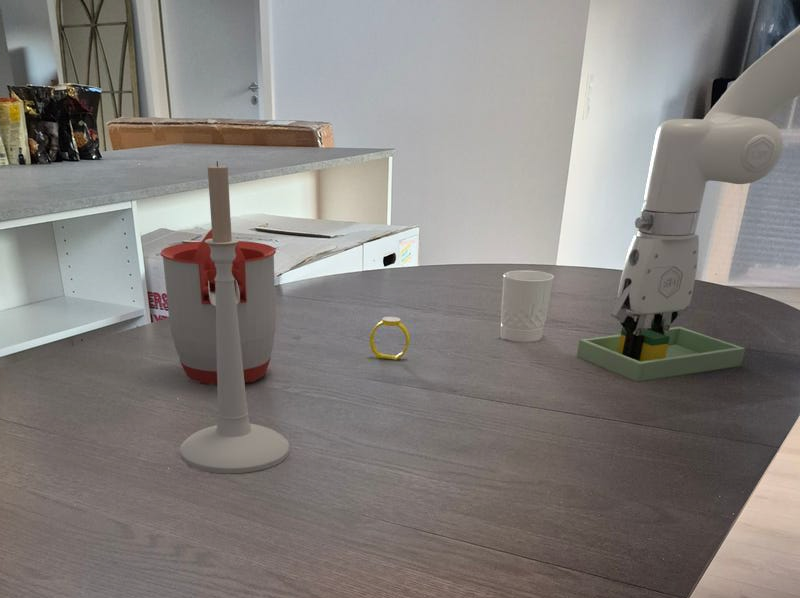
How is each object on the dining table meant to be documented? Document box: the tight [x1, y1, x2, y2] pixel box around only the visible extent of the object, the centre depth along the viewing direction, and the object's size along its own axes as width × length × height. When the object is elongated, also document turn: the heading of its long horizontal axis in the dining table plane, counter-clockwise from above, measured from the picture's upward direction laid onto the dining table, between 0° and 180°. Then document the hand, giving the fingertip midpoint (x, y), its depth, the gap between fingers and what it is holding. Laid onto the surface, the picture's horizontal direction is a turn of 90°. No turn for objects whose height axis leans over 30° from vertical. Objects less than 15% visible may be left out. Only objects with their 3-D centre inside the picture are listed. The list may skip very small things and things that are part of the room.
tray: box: [576, 326, 746, 383], centre depth 128 cm, size 20×14×3 cm
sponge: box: [617, 327, 670, 362], centre depth 126 cm, size 3×7×4 cm, turn 23°
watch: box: [369, 316, 410, 361], centre depth 130 cm, size 6×3×6 cm, turn 77°
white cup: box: [499, 269, 555, 343], centre depth 137 cm, size 8×8×10 cm
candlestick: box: [179, 160, 290, 474], centre depth 91 cm, size 13×13×30 cm
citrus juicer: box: [160, 228, 277, 386], centre depth 118 cm, size 16×17×20 cm
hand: (640, 358), depth 127 cm, fingers closed on sponge, 3 cm apart
